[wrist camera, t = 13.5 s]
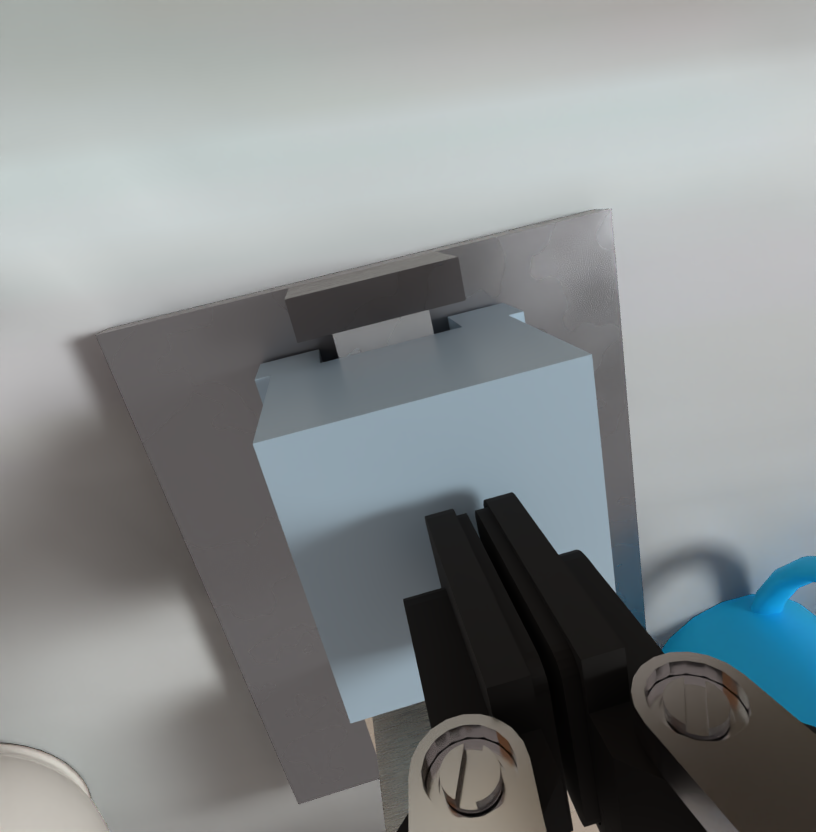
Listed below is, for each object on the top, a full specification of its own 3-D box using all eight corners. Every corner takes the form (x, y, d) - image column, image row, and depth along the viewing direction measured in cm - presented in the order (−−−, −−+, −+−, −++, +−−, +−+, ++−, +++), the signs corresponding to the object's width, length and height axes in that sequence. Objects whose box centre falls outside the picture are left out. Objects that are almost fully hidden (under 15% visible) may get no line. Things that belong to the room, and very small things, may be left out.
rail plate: (594, 209, 16) (797, 199, 9) (636, 672, 22) (775, 864, 16) (108, 327, 15) (-57, 413, 8) (298, 778, 21) (292, 1034, 15)
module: (502, 302, 15) (613, 348, 10) (534, 504, 18) (638, 634, 12) (260, 364, 15) (228, 449, 9) (325, 563, 17) (332, 729, 11)
